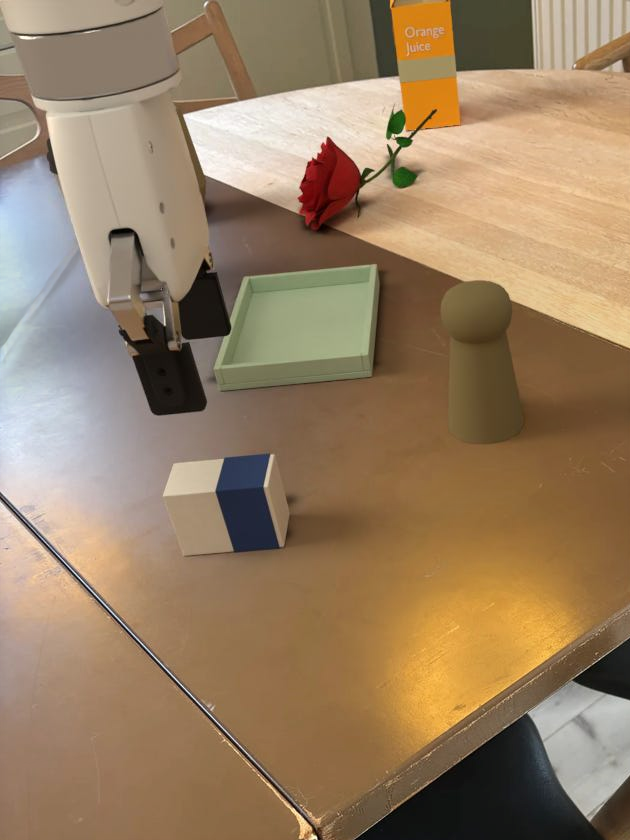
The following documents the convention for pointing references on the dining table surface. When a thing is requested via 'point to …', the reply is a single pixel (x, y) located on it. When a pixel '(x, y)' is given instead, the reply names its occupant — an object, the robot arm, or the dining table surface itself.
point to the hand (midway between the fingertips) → (195, 371)
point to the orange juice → (426, 62)
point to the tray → (301, 328)
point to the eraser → (227, 504)
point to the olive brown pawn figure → (481, 364)
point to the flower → (348, 175)
